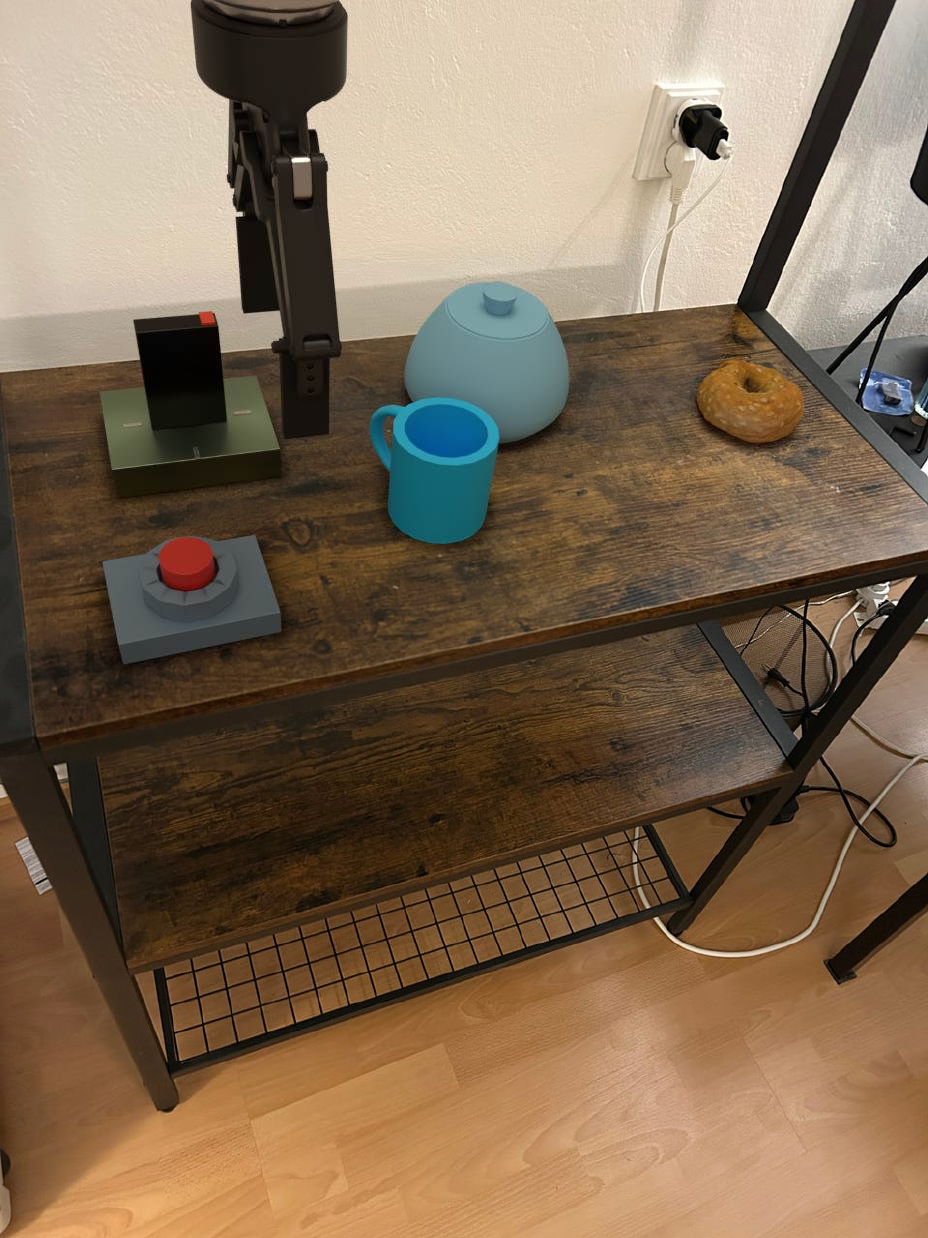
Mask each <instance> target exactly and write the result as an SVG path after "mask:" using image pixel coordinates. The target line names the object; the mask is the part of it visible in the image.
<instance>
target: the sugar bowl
mask: <svg viewBox="0 0 928 1238" xmlns="http://www.w3.org/2000/svg"><path fill="white" fill-rule="evenodd" d="M561 336H562V335H560V332H559V330H558V327H557V326H556V323H555V321H554V319H553V316H552V314H551V313H550V311H549V310H548V308H547V306H546V305H545V304H544V303H543V302H542V301H541V300H540V298H538V297H537V296H535V295H534V294H533V293H531V292H529V291H527V290H525V289H523V288H521V287H518V286H515V285H512V284H510V283H508V282H505V281H495V280H494V281H481V282H474V283H469V284H466V285H465V284H464V285H463V286H460V287H458V288H457V289H455V290H453V291H452V292H451V293H450V294H449V295H448V296H447V297H445V298H444V299H443V300H442V301H441V302H440V304H439V305H437V307H436V308H435V309H434V310H433V311H432V312H431V313H430V315H429V316H428V317H427V318H426V320H425V321H424V322H423V323H422V325H421V326H420V328H419V330H418V331H417V333H416V334H415V337H414V339H413V341H412V343H411V346H410V348H409V351H408V355H407V357H406V361H405V365H404V372H403V373H404V374H403V381H404V386H405V389H406V392H407V394H408V397H409V399H410V400H411V402H412V403H414V402H416V401H419V400H421V399H428V398H436V397H439V398H453V399H457V400H461V401H465V402H469V403H471V404H473V405H475V406H477V407H479V408H481V409H482V410H483V411H485V412H486V413H487V414H488V415H489V416H490V417H492V419H493V420H494V422H495V424H496V425H497V427H498V431H499V443H498V445H501V444H508V443H514V442H518V441H521V440H523V439H526V438H528V437H530V436H532V435H534V434H536V433H539V432H540V431H542V430H543V429H545V428H547V427H548V426H549V425H551V424H552V423H554V421H555V420H556V419H557V418H558V417H559V416H560V414H561V413H562V411H563V410H564V408H565V406H566V403H567V400H568V396H569V387H570V372H569V371H570V369H569V361H568V356H567V351H566V348H565V344H564V342H563V339H562V337H561Z"/></svg>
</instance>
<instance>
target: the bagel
mask: <svg viewBox="0 0 928 1238" xmlns="http://www.w3.org/2000/svg"><path fill="white" fill-rule="evenodd" d="M696 402H697V406H698V409H699V411H700V412H701V414H702V416H703V419H704V420H706V421H707V422H709V423H710V424H711V425H712V426H714V427H715V428H717V429H720V430H722V431H724V432H725V433H727V434H729V435H730V436H733V437H735V438H737V439H739V440H741V441H744V442H746V443H747V442H748V443H752V444H764V443H770V442H776V441H778V440H779V439H783V438H785V437H788V435H789V434H791V433H793V431H794V428H795V427H796V425H797V424H798V423H800V422H801V420H802V418H803V416H804V413H805V412H804V411H805V405H804V404H805V403H804V395H803V392H802V391H801V389H800V387H799V385H798V384H796V383H794V382H791V381H789V380H788V379H787V378H786V377H785V376H784V375H783V374H782V373H781V372H780V371H778V370H777V369H776V368H772V367H766V366H764V365H761V364H757V363H753V362H749V361H746V360H739V359H736V358H733V359H728V360H726V361H724V362H722V363H720V364H719V367H718V368H717V369H714V370H713V371H711V372H710V373H709V374H708V375H706V377H705V378H704V379H703V380H702V382H701V383H700V385H699V387H698V388H697V393H696Z"/></svg>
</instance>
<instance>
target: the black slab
mask: <svg viewBox="0 0 928 1238" xmlns="http://www.w3.org/2000/svg"><path fill="white" fill-rule="evenodd" d="M132 322H133V329H134V335H135V340H136V346H137V352H138V357H139V358H138V359H139V364H140V371H141V375H142V382H143V387H144V389H145V395H146V401H147V407H148V413H149V418H150V423H151V428H152V430H155V429H164V428H173V427H182V426H190V425H199V424H208V423H217V422H225V421H227V413H226V402H225V391H224V380H223V379H224V371H223V359H222V349H221V347H222V346H221V337H220V326H219V323H218V319H217V316H216V313H215V312H213V311H212V310H209V311H198V313H195V314H183V315H173V316H172V315H171V316H159V317H147V318H136V319H132Z"/></svg>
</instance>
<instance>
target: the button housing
mask: <svg viewBox="0 0 928 1238" xmlns="http://www.w3.org/2000/svg"><path fill="white" fill-rule="evenodd" d="M183 537H192V538H198V539H200V540H203V541H204V542H206V543H207V544H208V545H209V546H210V547H211V549H212V551H213V558H214V566H215V575H214V577H213V579H212V581H211V582H210V583H209V584H208V585H207V586H205V587H203V588H201V589H199V590H194V591H188V592H184V591H178V590H175V589H172V588H170V587H169V586H168V585H167V584H166V583H165V582H164V581H163V578H162V574H161V568H160V563H159V553H160V551H161V549H162V548H163V547H164V546H165V545H166V544H167V543H169V542H170V541H172V540H175V539H178V538H183ZM258 542H259V541H258V539H257V536H256V534H252V535H245V536H240V537H233V538H229V539H224V540H223V539H222V540H216V539H213V538H208V537H204V536H203V537H202V536H197V535H185V536H179V537H173V538H168V539H166V540H164V541H163V542H161V543H160V544H158V545H156V546H155V547H153V548H151V549H150V550H148V551H147V552H146V553H143V554H135V555H133V556H125V557H121V558H114V559H109V560H108V559H107V560H104V561H102V562H101V563H102V568H103V573H104V578H105V583H106V589H107V593H108V599H109V604H110V609H111V614H112V619H113V624H114V625H113V626H114V630H115V636H116V640H117V645H118V649H119V653H120V657H121V661H122V664H123V665H130V664H134V663H138V662H143V661H147V660H152V659H158V658H162V657H167V656H173V655H176V654H177V655H178V654H181V653H186V652H191V651H195V650H200V649H206V648H209V647H215V646H220V645H226V644H229V643H234V642H239V641H244V640H248V639H249V640H250V639H254V638H259V637H264V636H268V635H273V634H278V633H282V629H283V628H282V612H281V609H280V606H279V603H278V600H277V596H276V594H275V590H274V587H273V584H272V582H271V578H270V576H269V572H268V570H267V567H266V563H265V559H264V558H263V555H262V551H261V548H260V546H259V543H258Z"/></svg>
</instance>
